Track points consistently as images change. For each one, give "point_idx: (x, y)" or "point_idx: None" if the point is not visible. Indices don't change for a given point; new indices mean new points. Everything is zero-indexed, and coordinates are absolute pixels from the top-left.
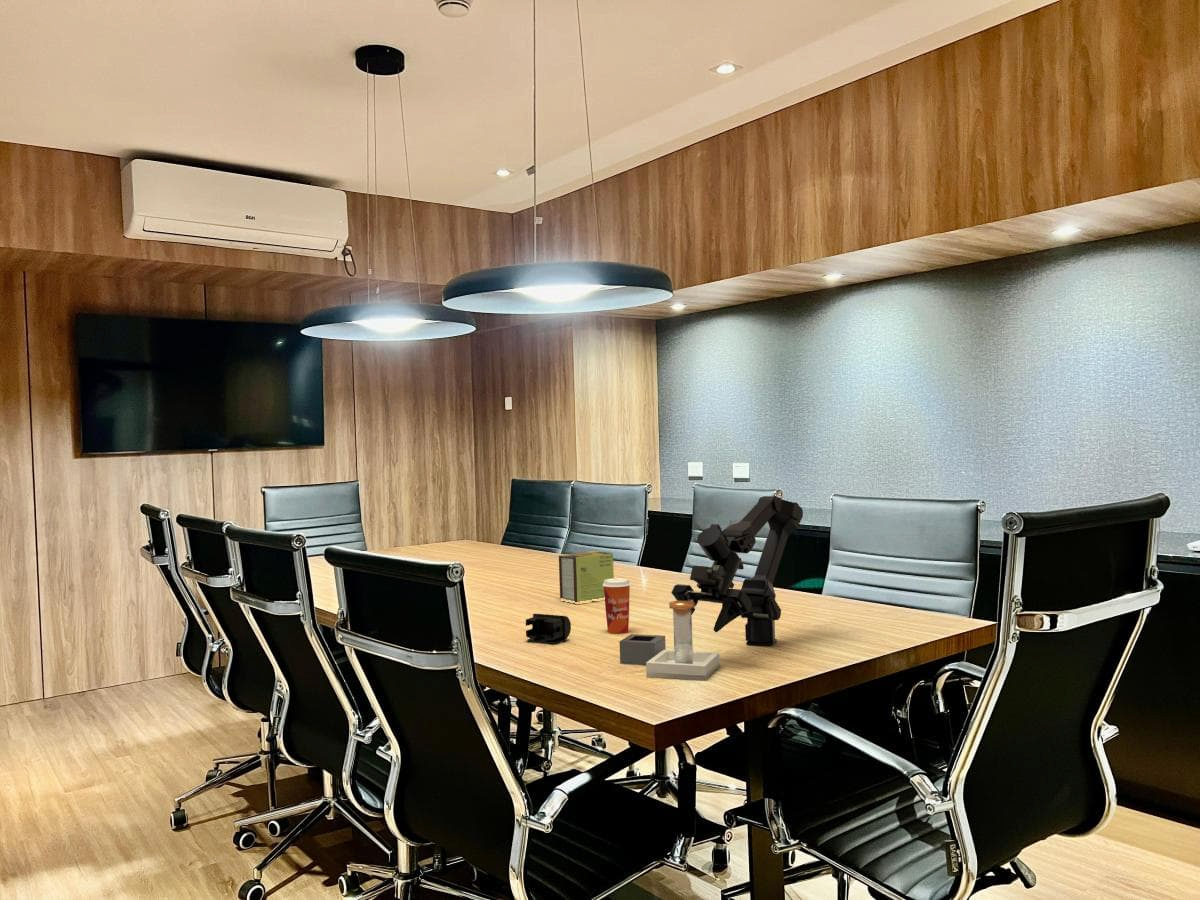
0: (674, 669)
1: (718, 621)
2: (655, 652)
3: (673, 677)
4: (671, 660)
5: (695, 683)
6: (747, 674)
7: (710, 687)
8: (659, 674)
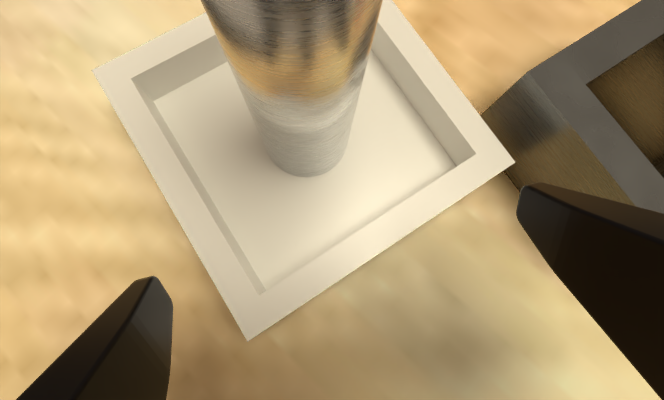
0: None
1: (71, 350)
2: (504, 110)
3: None
4: (436, 173)
5: None
6: (54, 309)
7: (46, 50)
8: None
